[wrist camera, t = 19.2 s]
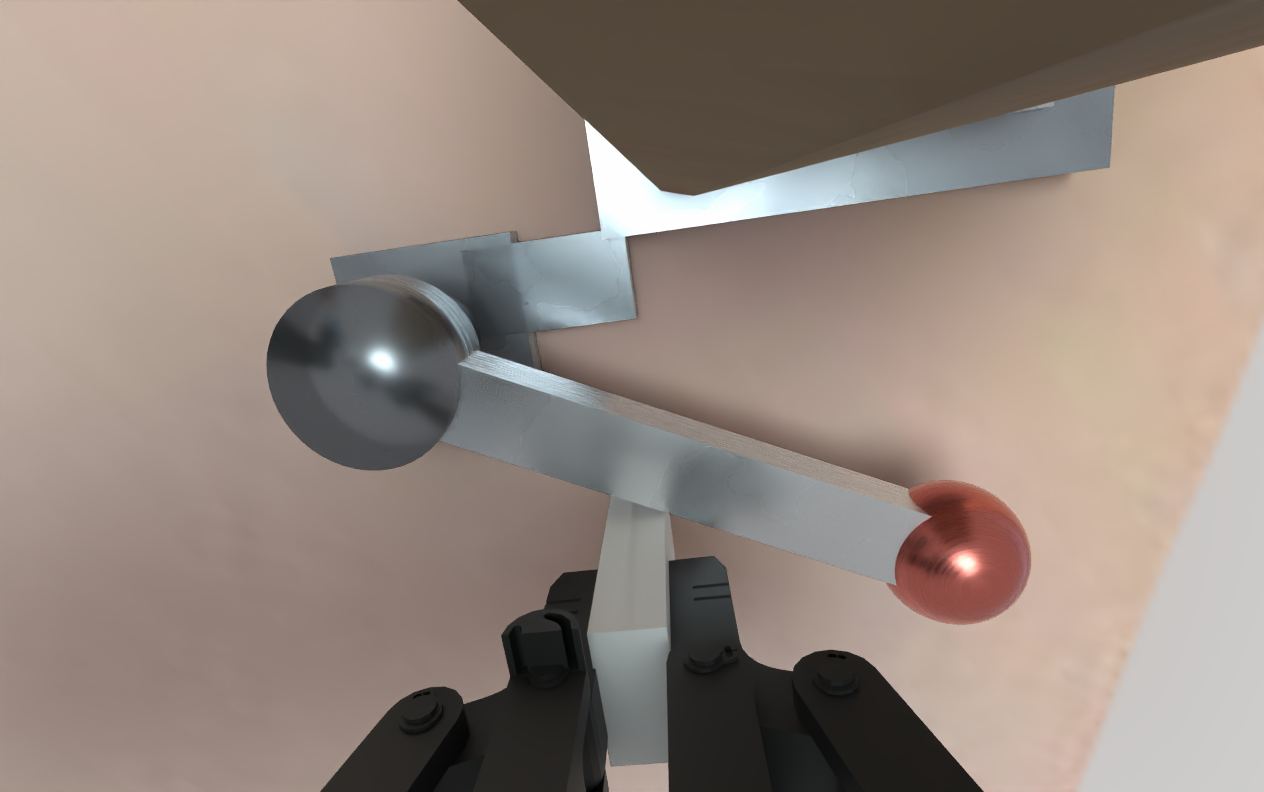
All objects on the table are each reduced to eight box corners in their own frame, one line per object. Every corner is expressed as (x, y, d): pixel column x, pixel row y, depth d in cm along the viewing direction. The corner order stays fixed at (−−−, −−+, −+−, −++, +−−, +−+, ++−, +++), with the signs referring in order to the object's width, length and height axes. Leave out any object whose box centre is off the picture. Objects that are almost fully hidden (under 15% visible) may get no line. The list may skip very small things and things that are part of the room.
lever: (947, 601, 17) (1007, 689, 14) (318, 402, 16) (236, 447, 13) (1020, 468, 16) (1102, 531, 13) (345, 249, 15) (262, 260, 12)
